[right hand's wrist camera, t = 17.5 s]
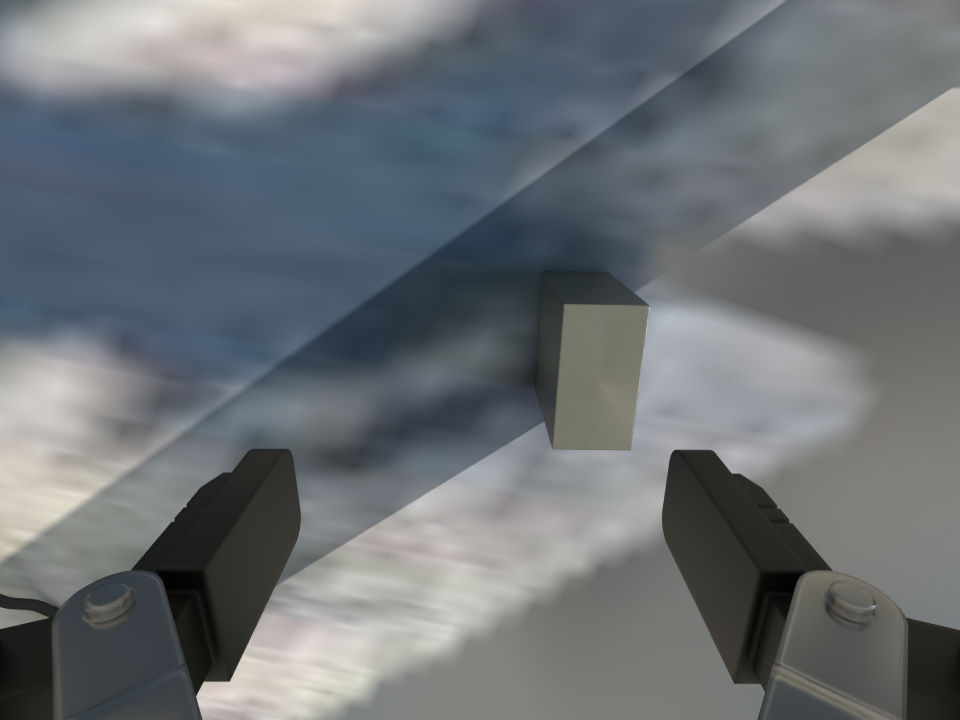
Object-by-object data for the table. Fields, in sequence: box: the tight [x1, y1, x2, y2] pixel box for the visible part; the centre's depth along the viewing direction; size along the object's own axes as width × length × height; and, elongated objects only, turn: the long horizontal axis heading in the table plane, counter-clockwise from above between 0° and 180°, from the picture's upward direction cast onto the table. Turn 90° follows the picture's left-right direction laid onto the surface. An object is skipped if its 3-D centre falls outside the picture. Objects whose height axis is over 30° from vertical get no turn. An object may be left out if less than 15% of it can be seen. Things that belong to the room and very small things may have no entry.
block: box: [535, 272, 650, 450], centre depth 32 cm, size 4×8×8 cm, turn 179°
